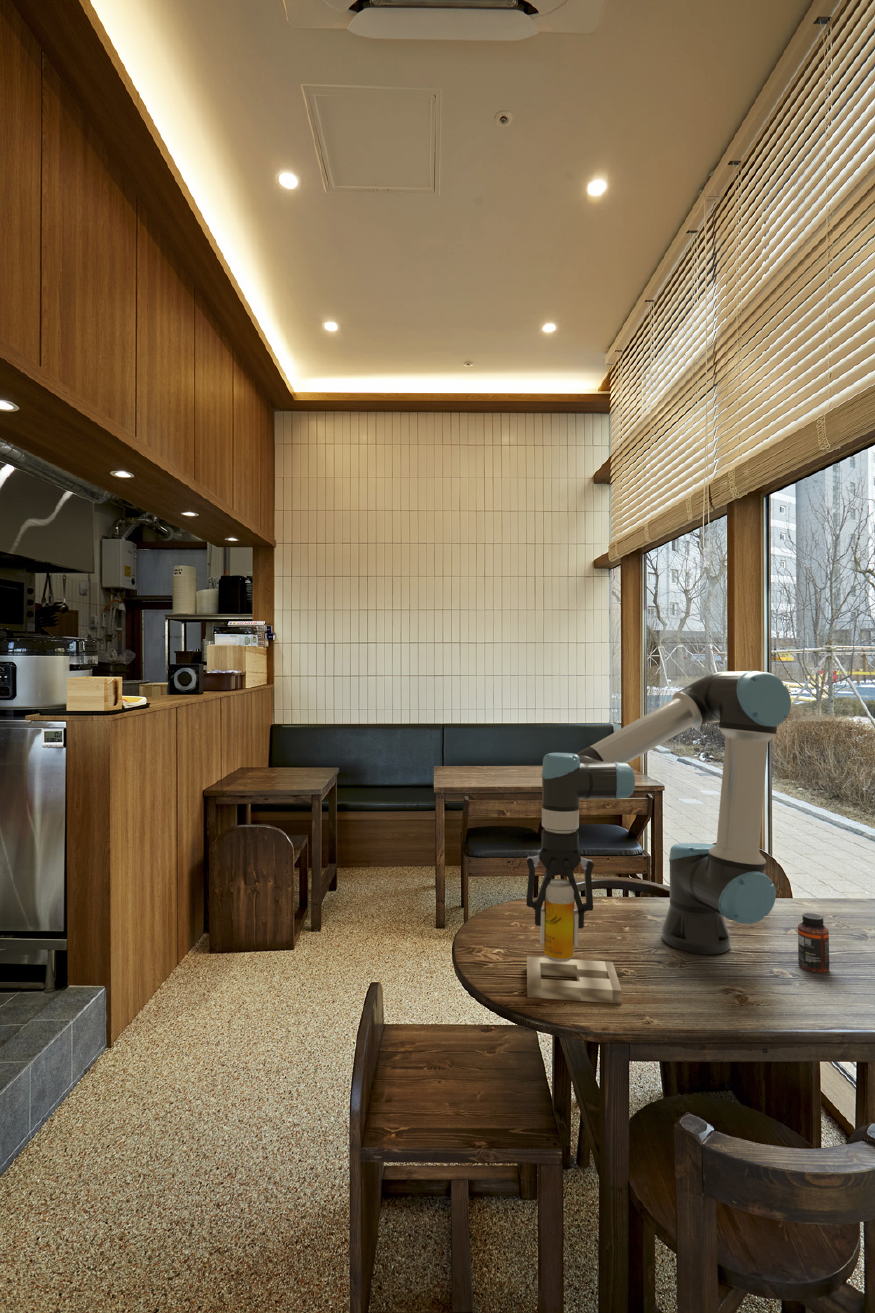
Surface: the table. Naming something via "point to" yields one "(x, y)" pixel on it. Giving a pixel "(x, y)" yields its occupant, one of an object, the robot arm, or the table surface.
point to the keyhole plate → (591, 984)
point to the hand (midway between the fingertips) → (558, 942)
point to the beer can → (559, 921)
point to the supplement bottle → (813, 944)
